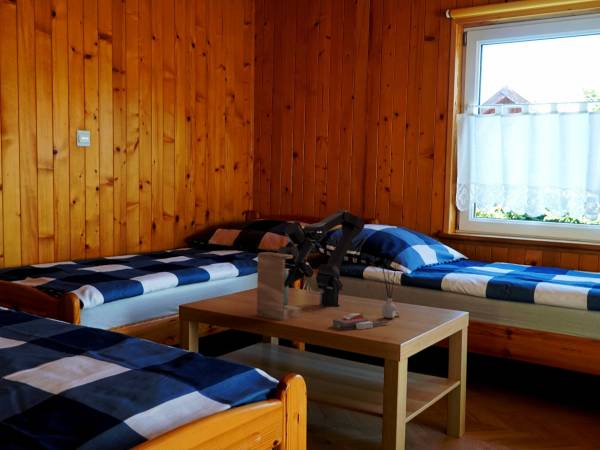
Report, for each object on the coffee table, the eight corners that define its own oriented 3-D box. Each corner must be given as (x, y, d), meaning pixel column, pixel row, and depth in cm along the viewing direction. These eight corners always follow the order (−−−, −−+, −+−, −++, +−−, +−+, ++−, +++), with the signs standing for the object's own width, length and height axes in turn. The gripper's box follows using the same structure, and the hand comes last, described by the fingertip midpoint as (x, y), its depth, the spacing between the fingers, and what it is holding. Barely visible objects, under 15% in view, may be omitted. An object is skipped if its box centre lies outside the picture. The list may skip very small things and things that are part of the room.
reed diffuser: (387, 321, 228) (388, 265, 227) (371, 317, 233) (373, 262, 231) (403, 317, 236) (405, 262, 234) (388, 314, 240) (390, 260, 239)
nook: (278, 310, 242) (279, 251, 240) (301, 315, 234) (303, 254, 232) (256, 314, 234) (257, 253, 232) (280, 320, 226) (282, 256, 224)
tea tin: (289, 303, 236) (290, 268, 235) (286, 306, 231) (287, 270, 230) (276, 302, 237) (276, 267, 236) (272, 305, 232) (273, 269, 231)
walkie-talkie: (345, 333, 211) (389, 326, 222) (345, 320, 210) (390, 313, 222) (328, 328, 218) (372, 321, 229) (328, 315, 217) (373, 309, 229)
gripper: (271, 236, 241) (249, 268, 234) (309, 240, 229) (287, 274, 221) (285, 255, 248) (264, 287, 240) (323, 260, 235) (302, 294, 228)
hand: (278, 285), depth 232 cm, fingers closed on tea tin, 5 cm apart
